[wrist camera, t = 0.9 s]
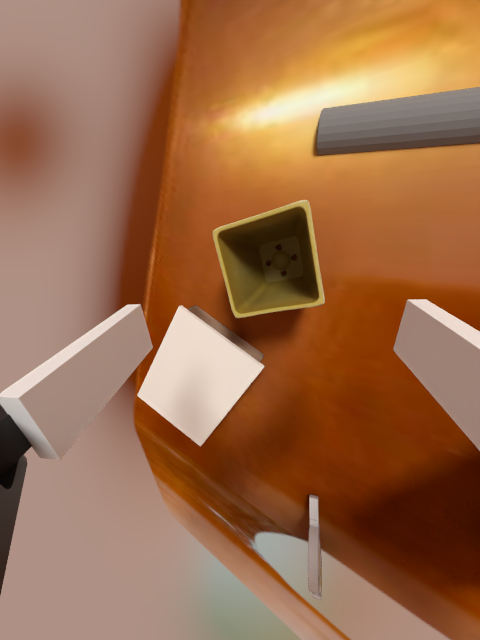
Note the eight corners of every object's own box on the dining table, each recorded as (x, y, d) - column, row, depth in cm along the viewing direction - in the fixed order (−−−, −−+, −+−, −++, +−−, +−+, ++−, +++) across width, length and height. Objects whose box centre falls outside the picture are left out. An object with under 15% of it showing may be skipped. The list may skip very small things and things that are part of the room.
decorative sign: (321, 540, 46) (321, 617, 37) (314, 538, 46) (313, 614, 38) (318, 493, 38) (316, 578, 30) (309, 491, 38) (306, 574, 30)
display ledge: (269, 354, 33) (263, 368, 29) (211, 429, 42) (200, 446, 38) (194, 299, 34) (178, 306, 31) (152, 382, 43) (137, 395, 39)
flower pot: (313, 211, 25) (309, 196, 17) (325, 287, 27) (325, 305, 19) (242, 233, 29) (210, 229, 21) (257, 299, 31) (233, 319, 23)
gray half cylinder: (565, 140, 18) (588, 131, 17) (315, 159, 24) (314, 153, 23) (594, 72, 17) (622, 54, 15) (321, 109, 23) (321, 99, 21)
